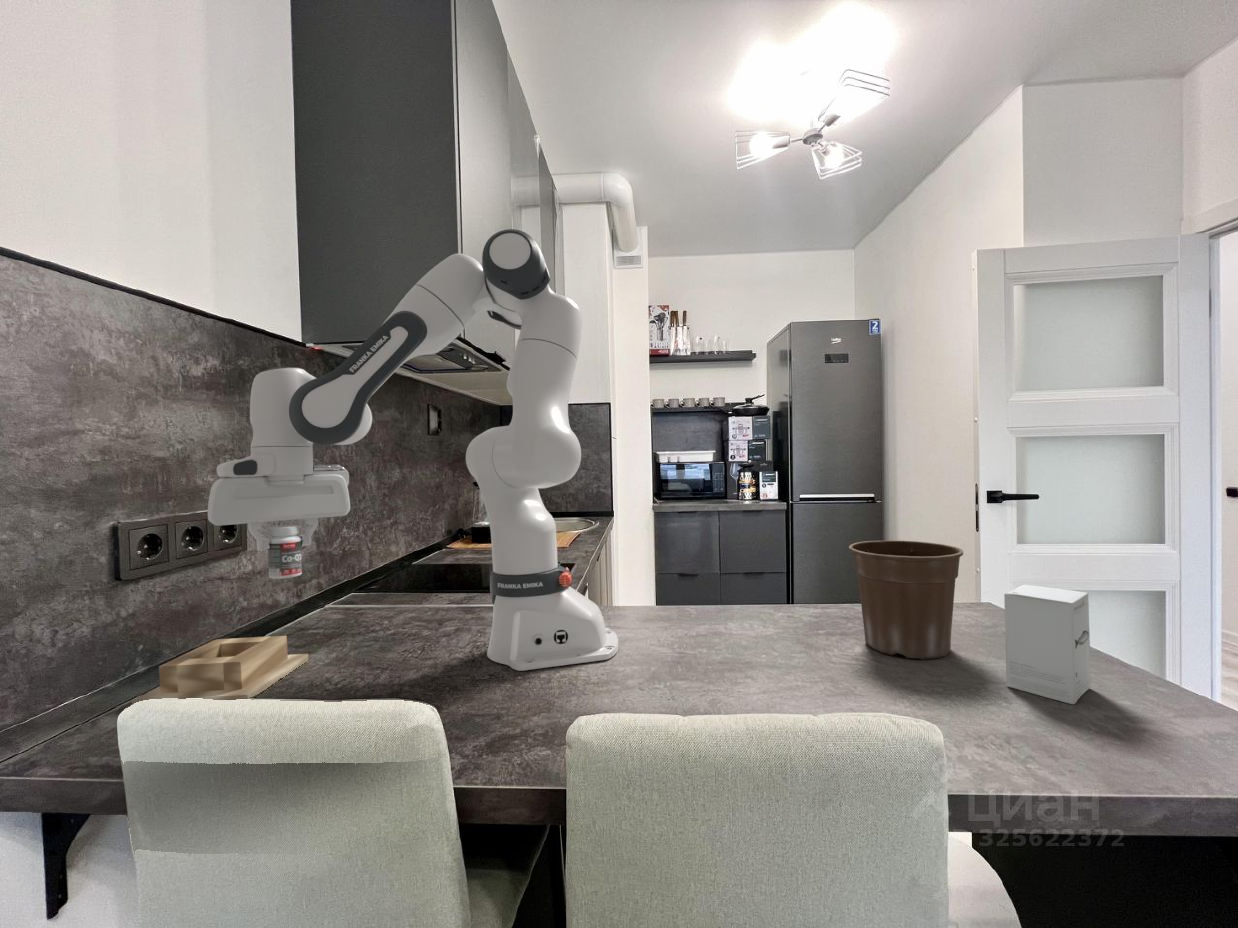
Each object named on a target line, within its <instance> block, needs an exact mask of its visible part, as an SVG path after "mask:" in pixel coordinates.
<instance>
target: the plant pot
mask: <svg viewBox="0 0 1238 928" xmlns="http://www.w3.org/2000/svg"><path fill="white" fill-rule="evenodd" d="M848 548H849V551H850V552H852V553H851V554H852V557H853V567H854V571H855V572H856V575H857V582H858V589H859V598H860V605H861V606H860V607H861V614H862V615H861V616H862V622H863V623H862V624H863V630H864V640H865V644H867V646H869V647H870V648H872V649H874V650H875V651H878V652H881V653H883V654H886V655H890V656H895V655H897V654H900V655H902V656H904V657H905V658H907V659H916V660H917V659H921V660H932V659H938V658H943V657H945V656H947V655H949V653H950V649H951V647H952V645H951V644H952V630H953V629H952V628H953V615H954V614H953V613H954V601H955V589H956V579H957V578H958V577H959V569H960V568H959V567H960V560H961V557H962V556H963V555H964V549H961V548H960V547H957V546H953V545H949V544H945V543H943V544H942V543H936V542H935V543H934V542H927V541H926V542H925V541H919V540H917V541H915V540H868V541H866V540H865V541H859V542H855V543H852V544H850V545H849V546H848Z"/></svg>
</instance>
